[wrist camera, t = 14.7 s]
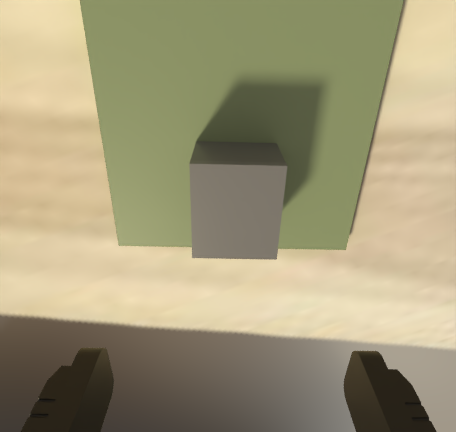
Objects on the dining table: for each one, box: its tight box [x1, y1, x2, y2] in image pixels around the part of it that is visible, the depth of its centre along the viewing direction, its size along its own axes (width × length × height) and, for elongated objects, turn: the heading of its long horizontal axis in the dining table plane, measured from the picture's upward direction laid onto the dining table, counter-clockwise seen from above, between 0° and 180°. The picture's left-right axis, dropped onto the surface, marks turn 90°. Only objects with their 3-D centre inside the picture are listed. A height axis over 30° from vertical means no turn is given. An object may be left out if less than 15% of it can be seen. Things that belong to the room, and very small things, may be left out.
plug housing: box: [189, 141, 287, 259], centre depth 24 cm, size 7×6×5 cm
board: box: [80, 0, 404, 250], centre depth 24 cm, size 24×20×1 cm
